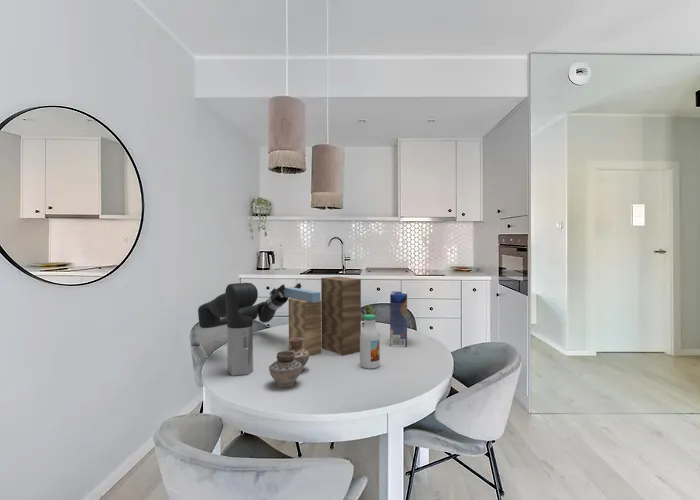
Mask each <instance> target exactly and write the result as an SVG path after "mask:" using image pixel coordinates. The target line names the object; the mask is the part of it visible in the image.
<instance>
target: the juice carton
mask: <svg viewBox="0 0 700 500" xmlns="http://www.w3.org/2000/svg"><path fill="white" fill-rule="evenodd" d="M389 296H390V300H389V304H390V305H389V309H390V310H389V311H390V312H389V315H390V316H389V317H390V319H389V321H390V322H389V326H390V327H389V336H390V337H389V338H390V339H389V343H390V345H389V346H390V347H391V346H396V347H395V348H407V346H408V291H396V290H395V291H391V292H390V295H389Z"/></svg>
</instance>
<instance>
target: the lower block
mask: <svg viewBox="0 0 700 500" xmlns="http://www.w3.org/2000/svg"><path fill="white" fill-rule="evenodd" d="M291 338H303V342H302V348H304V349H306V350H307V351H308V352H309V353H310V354H309V357H310V356H315V355H319V354H321V353H322V335H321V299H320V302H314V303H312V302H307V301H303V300H298V299H294V298H290V297H289V298H288V350H289V349H290V348H291V344H290V341H289V340H290V339H291Z"/></svg>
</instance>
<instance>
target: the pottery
mask: <svg viewBox="0 0 700 500" xmlns="http://www.w3.org/2000/svg"><path fill="white" fill-rule="evenodd" d="M289 341H290V344H291V348H290V349H289V348H288V349H287V350H286V351H285V350H283V351H282V350H281V351H279V352H278V351H277V353H276V361H274V362H272V363H271V364H270V365H269V366H268V371H269V374H270V376H271V378H272V380H274V381H275V382H276V383H277V386H278V387H280V388H290V387H292V386H294V385H295V381H296V380H297V379H298V378H299V376H300V375H301V373H302V372H303V371H305V368H304V367H305V365H307V362H308V360H309V358H310V356H309V354H310V353H309V352H308V351H307V350H306V349H304V348H302V342H303V338H291V339H290V340H289V339H288V342H289Z"/></svg>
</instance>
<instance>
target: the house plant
mask: <svg viewBox="0 0 700 500" xmlns="http://www.w3.org/2000/svg"><path fill="white" fill-rule="evenodd" d="M364 306H365V311H364V310H362V308H361V321H364V315H367V314H372V315H375V316H377V314H376V313H377V312H378V310H380V309H379V308H377V309H376V310H375V311H374V312H373V306H372V304H369V305H366V304H364ZM375 320H377V318H376V319H375ZM363 327H364V322H361V329H363Z"/></svg>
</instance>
